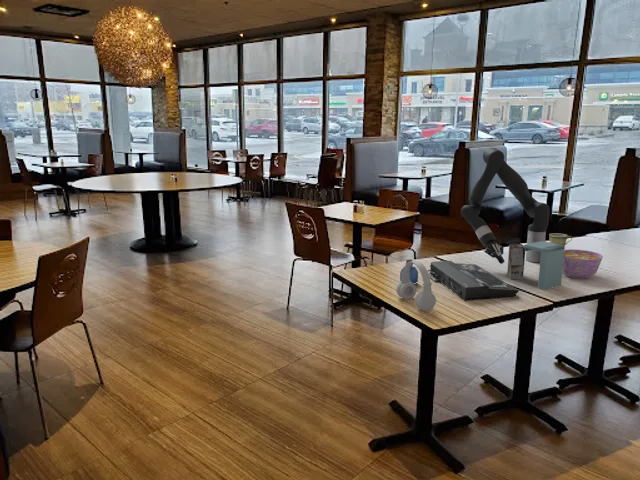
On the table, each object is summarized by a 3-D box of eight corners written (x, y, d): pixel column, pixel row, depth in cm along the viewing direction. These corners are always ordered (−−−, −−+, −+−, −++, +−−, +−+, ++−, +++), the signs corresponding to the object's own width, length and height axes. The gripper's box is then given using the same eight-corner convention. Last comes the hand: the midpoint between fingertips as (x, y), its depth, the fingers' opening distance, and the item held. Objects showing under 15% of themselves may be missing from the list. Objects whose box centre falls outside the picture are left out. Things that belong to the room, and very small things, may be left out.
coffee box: (523, 279, 241) (526, 248, 238) (509, 279, 243) (512, 247, 239) (520, 274, 250) (522, 244, 246) (506, 273, 251) (508, 243, 248)
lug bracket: (538, 278, 242) (542, 241, 237) (561, 285, 232) (564, 245, 227) (521, 283, 235) (524, 244, 231) (543, 290, 225) (547, 249, 221)
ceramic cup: (550, 252, 289) (551, 236, 287) (545, 248, 299) (547, 233, 297) (573, 253, 287) (575, 237, 285) (568, 249, 297) (569, 233, 295)
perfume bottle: (407, 281, 243) (407, 258, 240) (417, 283, 239) (418, 260, 236) (400, 283, 239) (400, 260, 236) (410, 286, 235) (410, 262, 232)
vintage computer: (520, 297, 217) (521, 280, 215) (460, 303, 213) (460, 286, 211) (475, 271, 258) (476, 257, 256) (424, 277, 254) (424, 262, 252)
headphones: (436, 310, 204) (438, 266, 199) (419, 313, 201) (420, 269, 196) (411, 295, 222) (412, 255, 218) (395, 298, 219) (396, 257, 215)
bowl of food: (550, 277, 244) (552, 255, 241) (563, 268, 258) (565, 247, 256) (594, 285, 231) (596, 261, 228) (605, 275, 245) (607, 253, 242)
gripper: (480, 233, 253) (498, 261, 246) (498, 230, 260) (515, 257, 252) (472, 241, 259) (489, 268, 251) (489, 238, 265) (506, 264, 258)
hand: (502, 262), depth 252 cm, fingers closed
